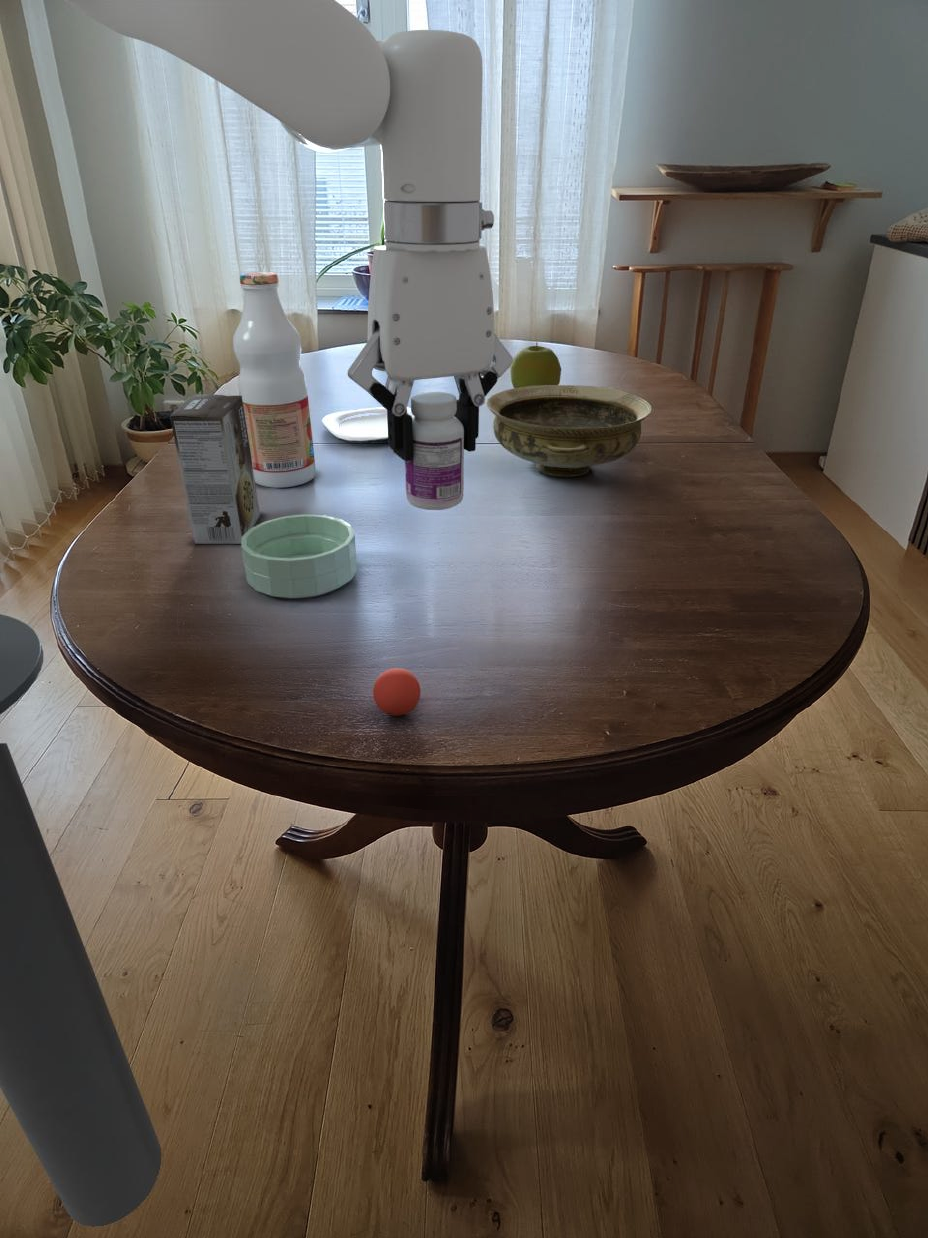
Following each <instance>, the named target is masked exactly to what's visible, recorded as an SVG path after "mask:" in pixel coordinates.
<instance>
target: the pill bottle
mask: <svg viewBox="0 0 928 1238" xmlns="http://www.w3.org/2000/svg"><path fill="white" fill-rule="evenodd" d="M410 408H411V412H412V414H413V415H414V417H412V424H413V459H411V460H410V461H404V466H405V467H404V472H405V473H404V475H405V495H406V500H407V502H408V503H409V504H410V505H411V506H413V507H415V508H418V509H422V510H427V511H442V510H449V509H451V508H454V507H456V506H458V505H460V504H461V503H462V501H463V500H464V483H465V482H464V479H465V478H464V476H465V475H464V474H465V473H464V471H465V469H464V463H465V462H464V460H465V457H464V456H465V455H464V454H465V452H464V451H465V449H464V428H463V425H462V423H461V422H460V421H459V420H458V419H457V418H456V417H454V415H455V414H456V411H457V396H456V395H454V394H453V393H450V392H444V391H436V390H435V391H423V392H418V393H415V394H413V395H411V396H410Z"/></svg>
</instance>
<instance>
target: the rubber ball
mask: <svg viewBox="0 0 928 1238" xmlns="http://www.w3.org/2000/svg"><path fill="white" fill-rule="evenodd" d="M372 696H373V701H374V702H375V705H376V707H378V709H379V710H380V711H382V712H383V713H385V714H387V715H390V716H393V717H401V716H404V715H406V714H409V713H410V712H412V711H413V710H414V709H415V708H416V707H417V705H418V703H419V701H420V699H421V685H420V682H419V680H418V679H417V677H416V675H414V674H413V673H412V672H411V671H409V670H407V669H405V668H400V667H395V668H394V667H393V668H389V669H387V670H385V671H383V672H382V673H381V674H380V675H378V677H377V678H376V680H375V682H374V685H373V689H372Z"/></svg>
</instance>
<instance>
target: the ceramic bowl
mask: <svg viewBox="0 0 928 1238" xmlns="http://www.w3.org/2000/svg"><path fill="white" fill-rule="evenodd" d="M486 406H487V408H488V409H489V411H490V412H491V413H492V414H493V415H494V417H493V418H494V419H493V423H492V428H493V429H492V430H493V434H494V437H495V439H496V440H497V442H498V443H499V444H500V445H501V446H502V448H504V449H505V450H506V451H508V452H510V453H511V454H512V455H514V456H515V457H518V458H520V459H522V460H524V461H527V462H530V463H533V464H536V469H537V470H538V471H539V472H541V473H542V474H546V475H548V476H549V475H550V476H553V477H562V478H563V477H564V478H566V477H567V478H568V477H569V478H570V477H579V476H582V475H585V474H588V473H589V472H590V467H594V466H595V467H596V466H599V465H603V464H607V463H611V462H613V461H616V460H619V459H620V458H622V457H624V456H626V455H627V454H629V453H630V452H631V451H632V450H634V448H635V447H636V446H637V444H638V443H639V441H640V439H641V435H642V422H643V421H644V420H645V419H647V418H648V417H649V416H650V414H651V413H652V411H653V410H652V409H653V408H652V406H651V404H650V403H649V402H648V401H647V400H645V399H643V398H641V397H640V396H636V395H634V394H631V393H628V392H626V391H623V390H619V389H615V388H611V387H605V386H595V385H575V384H574V385H573V384H571V385H570V384H559V385H540V386H527V387H520V388H514V387H513V388H509V389H506V390H502V391H500V392H497V393H495V394H492V395H491V396H490V397H489V398H487V400H486Z"/></svg>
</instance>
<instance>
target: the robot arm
mask: <svg viewBox="0 0 928 1238" xmlns="http://www.w3.org/2000/svg"><path fill="white" fill-rule="evenodd" d="M63 1H64V2H66V3H67V4H69V5H71V6H72V7H74V8H75V9H76V10H78V11H80V12H81V13H82V14H84V15H86V16H88V17H89V18H91V19H92V20H94V21H95V22H97V23H99V24H101V25H103V26H105V27H107V28H108V29H110V30H112V31H114V32H116V33H118V34H120V35H122V36H125V37H128V38H131V39H134V40H138V41H141V42H144V43H148V44H150V45H152V46H154V47H156V48H159V49H161V50H163V51H165V52H167V53H169V54H171V55H173V56H175V57H177V58H178V59H180V60H182V62H185V63H187V64H188V65H190V66H192V67H193V68H196V69H197V70H198V71H200V72H202V73H204V74H206V75H207V76H209V77H210V78H212V79H213V80H215V81H217V82H218V83H220V84H222V85H223V86H225V87H227V88H228V89H230V90H231V91H233V92H234V93H236V94H237V95H239V96H241V97H242V98H244V99H245V100H246V101H248V102H249V103H251V104H253V105H254V106H256V107H258V109H261V110H262V111H264V112H266V113H267V114H269V116H271V117H273V118H275V119H276V120H278V121H279V122H280V124H281V126H282V127H283V128H284V130H285V131H286V132H287V133H288V134H289V135H290V137H292V138H293V139H294V140H295V141H296V142H298V143H299V144H301V145H303V146H304V147H306V148H309V149H311V150H313V151H317V152H323V153H334V152H339V151H345V150H350V149H357V148H365V147H375V146H380V150H381V151H380V153H381V179H382V180H381V181H382V200H383V202H382V203H383V204H382V205H383V207H382V208H383V228H384V229H383V235H384V245H379V246H375V247H374V250H373V253H372V261H371V268H370V278H369V290H368V306H367V342H366V343H365V345H364V346H363V348H362V349H361V350H360V352H359V354H358V355H357V357H356V358H355V359H354V361H353V362H352V364H351V365H350V367H348V370H347V377H348V378H349V379H350V380H351V381H353V382H354V383H355V384H356V385H358V386H359V387H360V388H362V389H363V390H364V391H365V392H367V394H369V395H370V396H371V397H372V398H373V399H374V400H376V401H377V403H379V405H381V407H384V408H385V409H387V424H388V442H387V443H388V447H389V449H391V450H392V452H393V454H395V455H396V456H397V457H399V458H400V459H401V460H403V461H404V462H405V461H410V460H411V459H413V424H412V417H411V416H410V415H409V414H407V407H408V405H409V401H410V399H411V393H412V390H413V388H414V383H415V381H419V380H421V381H422V380H429V379H430V380H431V379H440V378H448V377H450V378H451V377H453V378H454V379H453V380H454V382H455V384H456V388H457V392H458V394H459V395H458V399H457V398H456V400H457V411H456V414H455V415H454V417H456V418H457V419H458V420H459V421H460V422H461V423H462V425H463V428H464V451H467V452H468V453H471V452H475V451H476V446H477V445H476V443H477V442H476V441H477V439H478V437H479V434H480V433H479V432H480V431H479V430H480V429H479V428H480V407H482V406H483V405H484V404H485V402H486V397H487V395H488V394H489V393H490V392H491V390H492V389H493V388H494V387H495V385H496V384H497V383H498V379H499V378H500V377H502V376H503V375H504V373H506V371H507V370H508V369H510V366H511V365H512V363H513V359H514V357H513V356H512V355H511V353H510V352H509V351H508V349H507V348H506V347H505V345H504V344H503V343H502V341H501V340H500V339H499V338H498V336H497V335H496V333H495V311H494V310H495V307H494V305H495V304H494V292H493V283H492V275H491V267H490V263H489V256H488V251H487V247H486V246H483V245H480V242H481V241H480V240H481V239H482V238H483V237H482V233H483V231H485V230H486V229H490V230H491V229H492V228H493V227H494V222H495V216H494V213H493V211H492V210H485V209H484V208H483V202H480V201H481V187H482V186H481V181H482V179H481V178H482V176H481V175H482V127H483V126H482V124H483V123H482V119H483V118H482V117H483V74H484V73H483V72H484V71H483V70H484V69H483V56H482V51H481V49H480V46H479V44H478V42H477V41H475V40H474V38H472V37H471V36H469V35H467V34H464V33H461V32H457V31H450V30H441V29H414V30H405V31H399V32H396V33H393V34H391V35H389V36H387V37H386V38H385V39H384V40H383V41H382V40H377V39H376V37H375V36H374V35H373V33H372V32H371V31H370V30H369V29H368V27H367V26H366V25H365V24H364V23H363V22H362V21H361V20H360V19H359V18H358V17H357V16H356V15H354V14H353V13H352V12H351V11H349V9H347V8H345V6H343V5H342V4H341V3H339V2H338V1H336V0H63ZM373 370H376V371H380V372H385V373H386V375H387V376H386V377H387V378H386V381H385V385H383V384H382V383H381V382H380V381H378V380H377V379H376V378H375V377H374V376H373Z"/></svg>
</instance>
